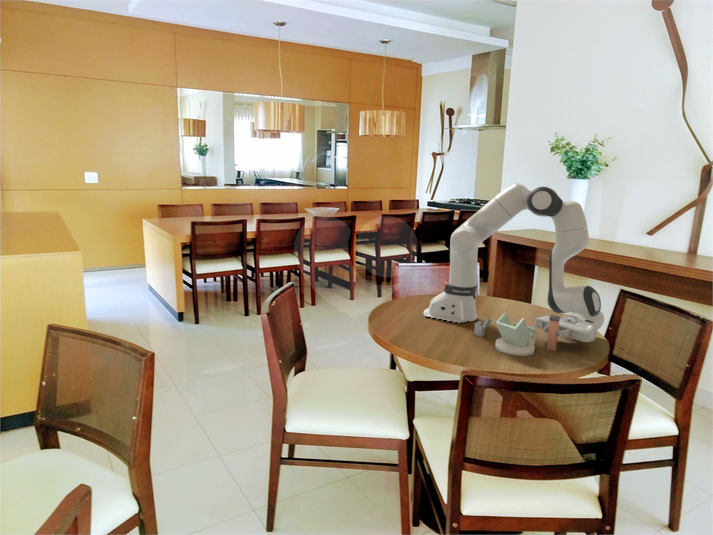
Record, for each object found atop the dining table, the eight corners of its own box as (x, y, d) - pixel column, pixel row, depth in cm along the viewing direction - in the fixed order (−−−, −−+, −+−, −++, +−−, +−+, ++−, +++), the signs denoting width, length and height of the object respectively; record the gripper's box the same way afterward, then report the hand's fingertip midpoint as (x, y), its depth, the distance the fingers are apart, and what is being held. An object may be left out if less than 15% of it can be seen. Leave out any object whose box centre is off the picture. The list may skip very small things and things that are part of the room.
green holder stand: (518, 358, 160) (522, 322, 157) (487, 346, 170) (490, 312, 167) (541, 351, 167) (545, 316, 165) (510, 340, 178) (513, 307, 175)
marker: (546, 350, 168) (550, 317, 166) (545, 347, 172) (549, 314, 169) (556, 351, 167) (560, 318, 165) (555, 348, 171) (559, 315, 168)
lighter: (473, 333, 184) (475, 313, 182) (477, 333, 184) (478, 313, 183) (486, 339, 177) (488, 319, 176) (490, 339, 178) (492, 318, 177)
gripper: (548, 310, 183) (526, 315, 175) (601, 324, 167) (580, 331, 159) (546, 326, 185) (525, 332, 177) (599, 342, 168) (578, 349, 160)
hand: (551, 332), depth 168 cm, fingers closed on marker, 3 cm apart
